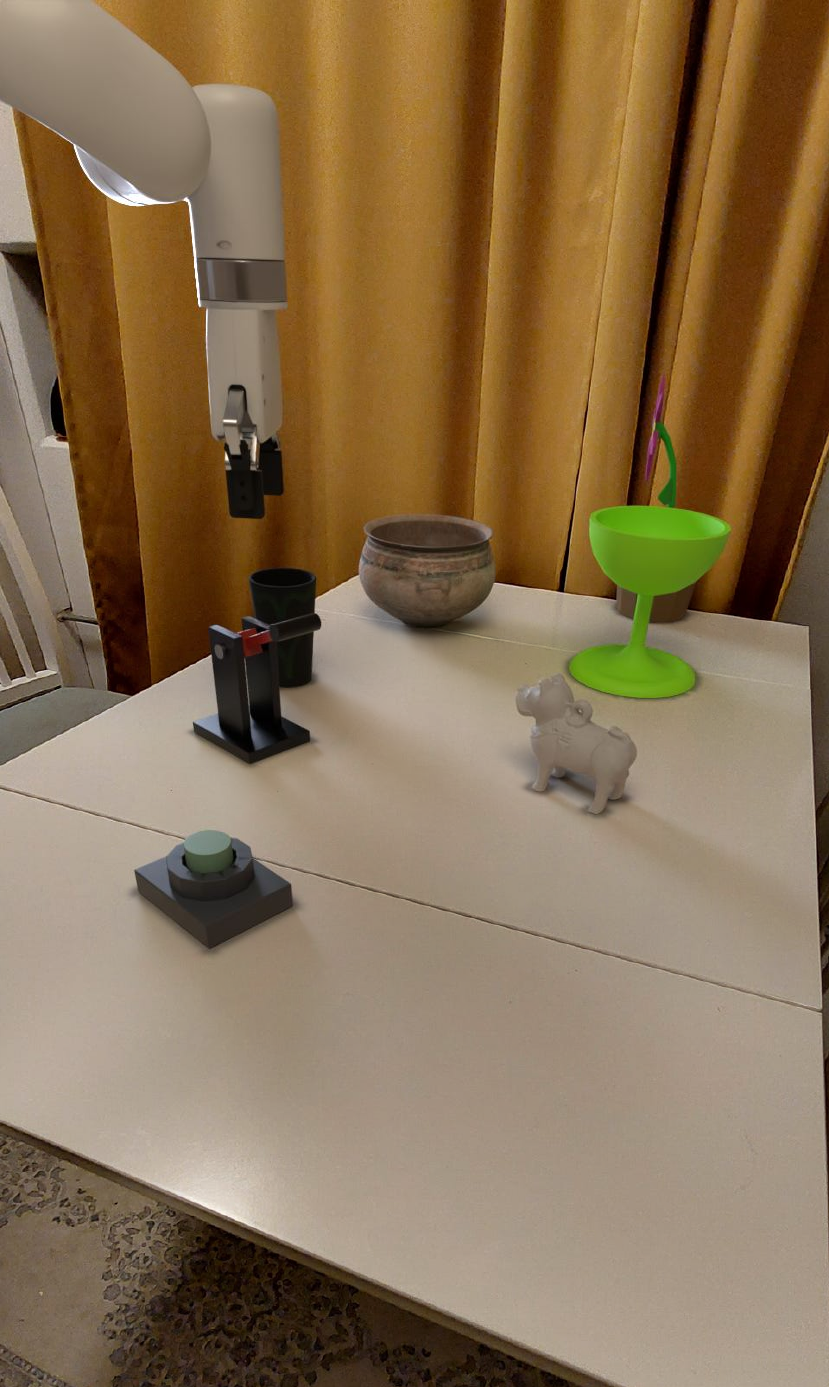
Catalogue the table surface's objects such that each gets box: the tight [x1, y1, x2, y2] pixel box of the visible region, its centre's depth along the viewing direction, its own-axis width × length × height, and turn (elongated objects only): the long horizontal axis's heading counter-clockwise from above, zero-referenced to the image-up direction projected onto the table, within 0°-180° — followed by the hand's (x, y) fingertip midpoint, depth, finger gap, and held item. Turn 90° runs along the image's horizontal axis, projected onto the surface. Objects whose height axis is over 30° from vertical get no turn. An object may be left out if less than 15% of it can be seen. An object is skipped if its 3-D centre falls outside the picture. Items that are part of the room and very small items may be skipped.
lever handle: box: [235, 612, 322, 658], centre depth 85 cm, size 12×5×2 cm, turn 45°
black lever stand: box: [192, 616, 311, 764], centre depth 90 cm, size 10×8×12 cm
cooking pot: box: [358, 513, 497, 629], centre depth 122 cm, size 25×19×12 cm
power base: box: [133, 836, 294, 949], centre depth 69 cm, size 10×8×4 cm
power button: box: [183, 829, 233, 873], centre depth 68 cm, size 4×4×2 cm
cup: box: [248, 567, 317, 688], centre depth 103 cm, size 8×8×12 cm
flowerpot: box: [615, 374, 698, 623], centre depth 122 cm, size 14×14×30 cm
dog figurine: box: [515, 672, 638, 815], centre depth 84 cm, size 5×13×11 cm, turn 51°
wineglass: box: [568, 505, 732, 699], centre depth 106 cm, size 16×16×18 cm
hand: (258, 505), depth 84 cm, fingers open, 9 cm apart
